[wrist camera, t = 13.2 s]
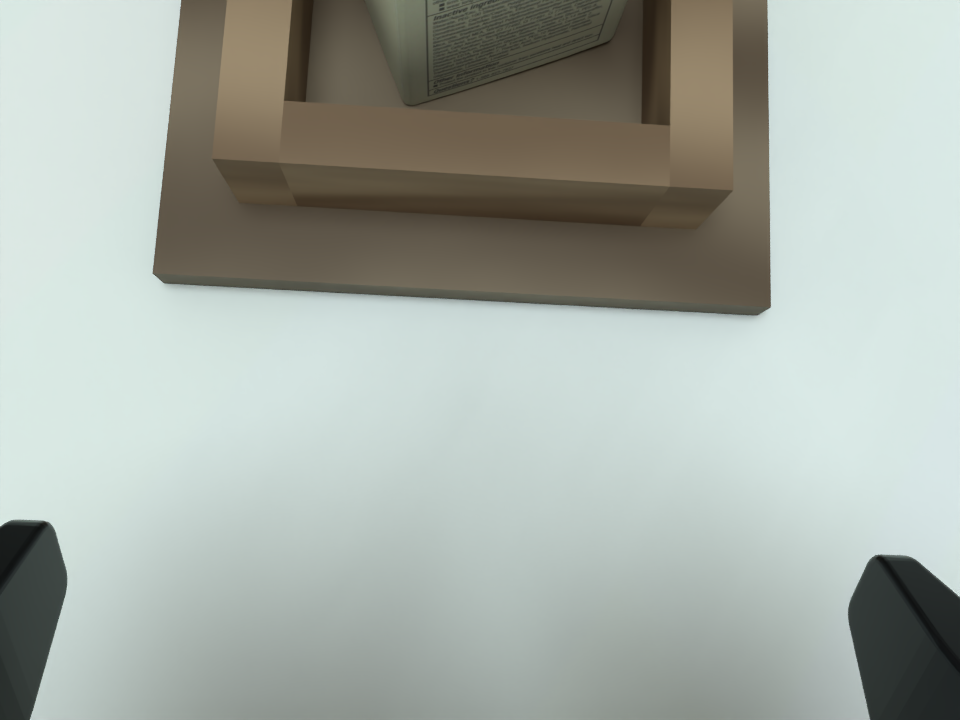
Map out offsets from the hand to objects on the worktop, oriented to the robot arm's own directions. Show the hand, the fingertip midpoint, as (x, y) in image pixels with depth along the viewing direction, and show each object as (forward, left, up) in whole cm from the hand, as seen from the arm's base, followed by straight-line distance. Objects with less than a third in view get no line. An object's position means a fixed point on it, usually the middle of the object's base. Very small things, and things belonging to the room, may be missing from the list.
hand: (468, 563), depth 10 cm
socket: (+11, -9, -14) cm, 20 cm away
